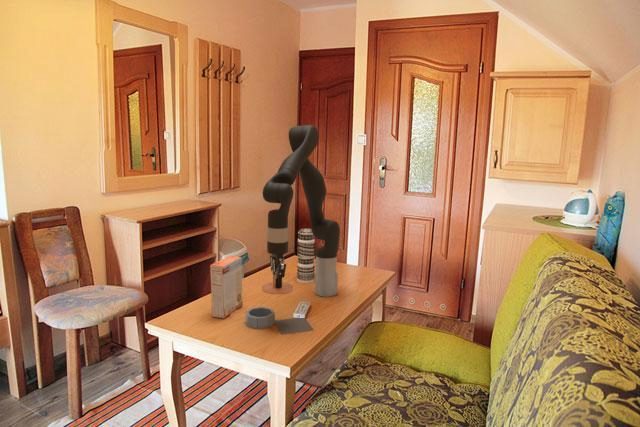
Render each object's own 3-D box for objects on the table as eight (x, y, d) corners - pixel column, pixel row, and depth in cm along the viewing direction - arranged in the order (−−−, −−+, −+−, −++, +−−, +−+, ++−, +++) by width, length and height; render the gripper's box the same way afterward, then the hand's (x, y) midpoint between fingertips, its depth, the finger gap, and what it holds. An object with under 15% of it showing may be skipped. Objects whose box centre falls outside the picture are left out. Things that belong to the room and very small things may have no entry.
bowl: (270, 316, 166) (270, 305, 165) (276, 327, 157) (276, 316, 156) (244, 320, 163) (244, 308, 162) (249, 331, 154) (249, 319, 153)
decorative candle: (292, 281, 208) (293, 230, 203) (301, 275, 216) (301, 226, 212) (310, 284, 204) (311, 232, 200) (318, 278, 212) (319, 228, 208)
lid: (287, 282, 163) (288, 269, 162) (297, 292, 153) (297, 278, 152) (258, 285, 159) (258, 271, 158) (266, 295, 149) (266, 281, 148)
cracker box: (230, 304, 178) (229, 255, 174) (243, 306, 176) (242, 256, 172) (210, 317, 165) (209, 264, 161) (224, 319, 163) (223, 266, 159)
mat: (304, 318, 165) (304, 316, 165) (314, 331, 154) (314, 330, 154) (273, 322, 162) (273, 320, 161) (281, 336, 150) (281, 334, 150)
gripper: (293, 243, 148) (293, 291, 151) (282, 234, 161) (282, 279, 164) (272, 244, 145) (272, 293, 148) (262, 235, 158) (262, 281, 161)
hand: (277, 285), depth 156 cm, fingers closed on lid, 2 cm apart
